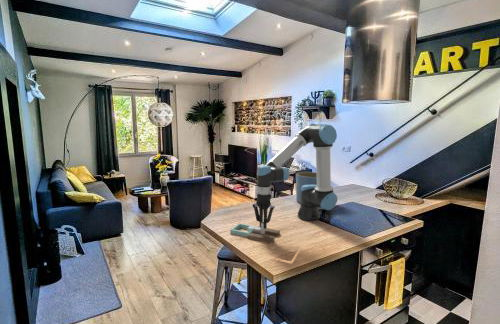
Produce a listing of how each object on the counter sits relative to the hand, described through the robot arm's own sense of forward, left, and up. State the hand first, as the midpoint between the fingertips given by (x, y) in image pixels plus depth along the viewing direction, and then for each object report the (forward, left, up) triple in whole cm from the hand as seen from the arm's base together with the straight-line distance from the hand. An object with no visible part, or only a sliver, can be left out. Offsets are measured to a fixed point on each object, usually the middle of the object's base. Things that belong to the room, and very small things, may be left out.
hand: (262, 233), depth 154 cm
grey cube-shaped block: (0, -7, -2) cm, 7 cm away
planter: (-81, +8, -3) cm, 81 cm away
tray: (0, -12, -3) cm, 13 cm away
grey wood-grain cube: (0, -3, -1) cm, 3 cm away
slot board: (0, +1, -3) cm, 3 cm away
